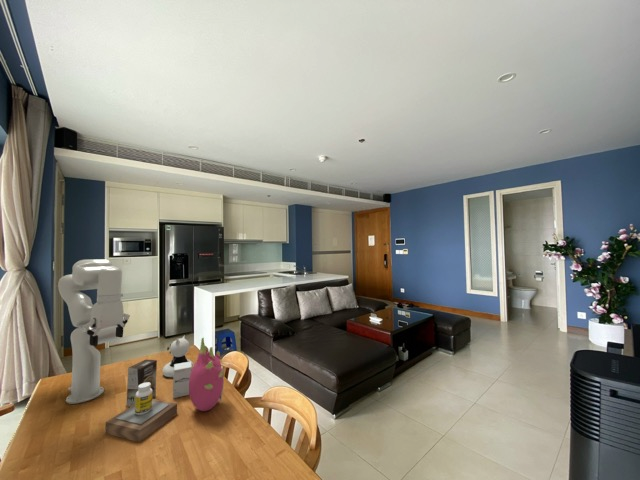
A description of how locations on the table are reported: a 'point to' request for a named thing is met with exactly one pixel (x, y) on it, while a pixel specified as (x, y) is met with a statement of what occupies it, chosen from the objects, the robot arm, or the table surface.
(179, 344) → the decorative figurine
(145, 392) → the supplement bottle
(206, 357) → the pink dragon fruit
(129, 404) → the coffee box
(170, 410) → the walnut stand
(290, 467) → the table surface
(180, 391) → the supplement box
